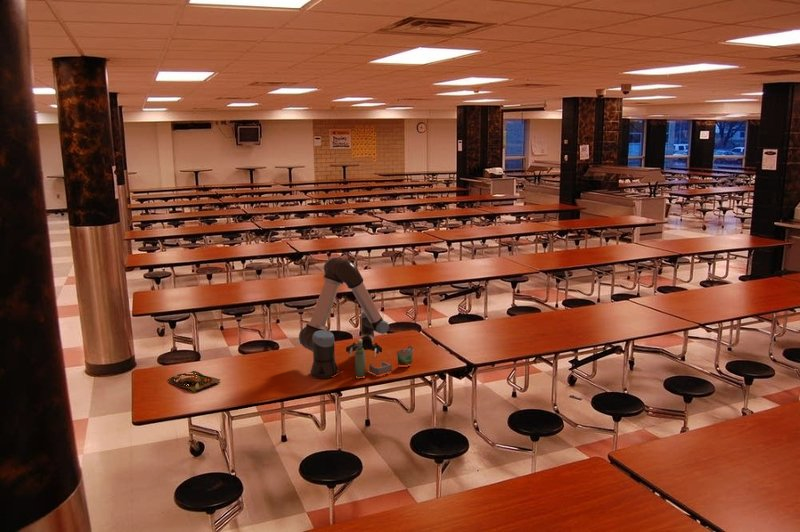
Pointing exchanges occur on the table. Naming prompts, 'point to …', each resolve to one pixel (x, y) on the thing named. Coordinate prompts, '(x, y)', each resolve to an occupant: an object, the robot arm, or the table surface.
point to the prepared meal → (193, 381)
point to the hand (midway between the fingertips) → (362, 354)
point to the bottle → (359, 360)
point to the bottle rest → (381, 370)
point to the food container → (405, 356)
